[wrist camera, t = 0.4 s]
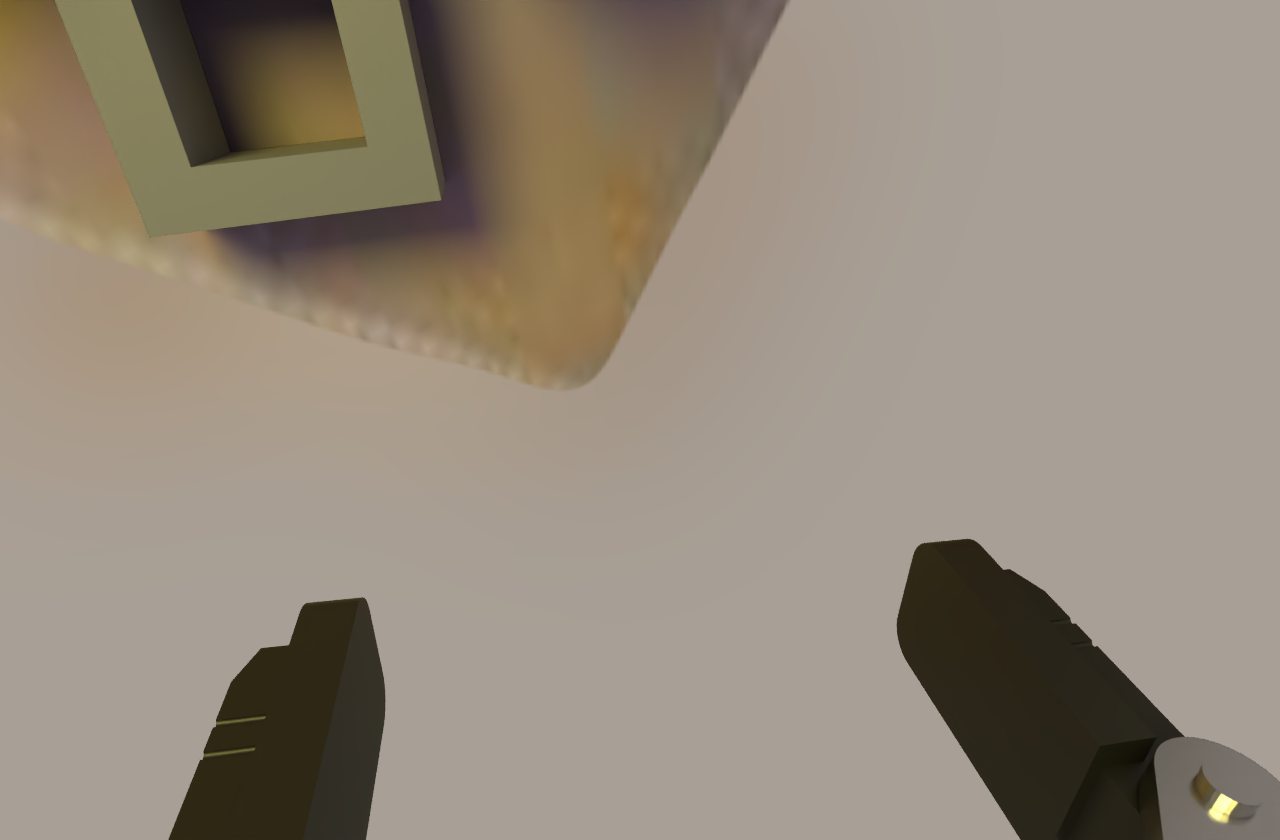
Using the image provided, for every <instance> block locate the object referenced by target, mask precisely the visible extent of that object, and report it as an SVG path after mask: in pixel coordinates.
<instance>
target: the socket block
mask: <svg viewBox="0 0 1280 840" xmlns="http://www.w3.org/2000/svg"><path fill="white" fill-rule="evenodd" d="M331 1H332V5H333V9H334V13H335V17H336V21H337V25H338V29H339V33H340V37H341V41H342V45H343V49H344V53H345V57H346V61H347V65H348V69H349V74H350V78H351V82H352V86H353V90H354V94H355V98H356V102H357V106H358V110H359V114H360V118H361V122H362V126H363V130H364V134H365V137H360V138H351V139H342V140H333V141H325V142H316V143H307V144H299V145H290V146H281V147H272V148H264V149H255V150H246V151H237V152H230V150H229V147H228V144H227V141H226V138H225V135H224V132H223V129H222V126H221V123H220V120H219V117H218V114H217V111H216V108H215V105H214V101H213V98H212V95H211V92H210V89H209V86H208V83H207V80H206V77H205V74H204V71H203V68H202V65H201V62H200V59H199V56H198V53H197V50H196V47H195V44H194V41H193V38H192V35H191V32H190V29H189V26H188V23H187V20H186V17H185V14H184V11H183V8H182V5H181V2H180V0H55V3H56V5H57V8H58V10H59V13H60V15H61V18H62V20H63V23H64V25H65V28H66V30H67V33H68V35H69V38H70V40H71V43H72V45H73V48H74V50H75V53H76V55H77V58H78V60H79V63H80V65H81V68H82V70H83V73H84V75H85V78H86V80H87V83H88V85H89V88H90V90H91V93H92V95H93V98H94V100H95V103H96V105H97V108H98V110H99V113H100V115H101V118H102V120H103V123H104V125H105V128H106V130H107V133H108V135H109V138H110V140H111V143H112V145H113V148H114V150H115V153H116V155H117V158H118V160H119V163H120V165H121V168H122V170H123V173H124V175H125V178H126V180H127V183H128V185H129V188H130V190H131V193H132V195H133V198H134V200H135V203H136V205H137V208H138V210H139V213H140V215H141V218H142V220H143V223H144V225H145V228H146V230H147V233H148V235H149V238H150V237H158V236H166V235H174V234H182V233H190V232H197V231H205V230H213V229H221V228H229V227H236V226H244V225H252V224H260V223H268V222H275V221H283V220H291V219H299V218H307V217H315V216H322V215H330V214H338V213H346V212H354V211H361V210H369V209H377V208H385V207H393V206H400V205H408V204H416V203H424V202H432V201H440V200H441V199H442V195H443V191H444V187H445V177H444V172H443V167H442V162H441V157H440V153H439V148H438V143H437V138H436V133H435V128H434V123H433V119H432V114H431V109H430V104H429V99H428V94H427V89H426V85H425V80H424V75H423V70H422V65H421V60H420V55H419V51H418V46H417V41H416V36H415V31H414V26H413V21H412V17H411V12H410V7H409V2H408V0H331Z"/></svg>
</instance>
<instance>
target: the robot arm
mask: <svg viewBox="0 0 1280 840" xmlns="http://www.w3.org/2000/svg"><path fill="white" fill-rule="evenodd" d="M897 635H898V640H899V644H900V648H901V650H902V653H903V655H904V657H905V659H906V661H907V663H908V664H909V666H910V667H911V669H912V670H913V672H914V674H915V675H916V676H917V678H918V680H919V681H920V683H921V685H922V686H923V688H924V689H925V691H926V692H927V694H928V696H929V697H930V699H931V700H932V702H933V703H934V705H935V706H936V708H937V710H938V711H939V713H940V714H941V716H942V717H943V719H944V721H945V722H946V724H947V725H948V727H949V728H950V730H951V731H952V733H953V735H954V736H955V738H956V739H957V741H958V742H959V744H960V746H961V747H962V749H963V750H964V752H965V753H966V755H967V756H968V758H969V760H970V761H971V763H972V764H973V766H974V767H975V769H976V771H977V772H978V774H979V775H980V777H981V778H982V780H983V781H984V783H985V785H986V786H987V788H988V789H989V791H990V792H991V794H992V795H993V797H994V799H995V800H996V802H997V803H998V805H999V806H1000V808H1001V810H1002V811H1003V812H1004V814H1005V816H1006V817H1007V819H1008V821H1009V822H1010V823H1011V825H1012V827H1013V828H1014V830H1015V831H1016V833H1017V835H1018V836H1019V838H1020V839H1021V840H1280V782H1279V781H1278V780H1277V779H1276V778H1275V777H1274V776H1273V775H1272V774H1270V773H1269V772H1268V771H1267V770H1266V769H1264V768H1263V767H1261V766H1260V765H1259V764H1257V763H1256V762H1254V761H1253V760H1251V759H1249V758H1248V757H1246V756H1244V755H1243V754H1241V753H1239V752H1237V751H1235V750H1233V749H1230V748H1229V747H1226V746H1224V745H1221V744H1218V743H1215V742H1212V741H1209V740H1205V739H1200V738H1194V737H1184V735H1182V734H1181V733H1180V732H1179V731H1178V730H1177V729H1176V728H1175V726H1173V724H1171V723H1170V721H1169V720H1168V719H1167V718H1166V717H1165V716H1164V715H1163V714H1162V713H1161V712H1160V711H1159V710H1158V709H1157V708H1156V707H1155V706H1154V705H1153V704H1152V703H1151V702H1150V700H1149V699H1148V698H1147V697H1146V696H1145V695H1144V694H1143V693H1142V692H1141V691H1140V690H1139V689H1138V688H1137V687H1136V686H1135V685H1134V684H1133V683H1132V682H1131V681H1130V680H1129V679H1128V678H1127V676H1126V675H1125V674H1124V673H1122V671H1121V670H1120V669H1119V668H1118V667H1117V666H1116V665H1115V664H1114V663H1113V662H1112V661H1111V660H1110V659H1109V658H1108V657H1107V656H1106V655H1105V654H1104V653H1103V652H1102V650H1101V649H1100V648H1099V647H1098V646H1096V647H1094V646H1093V645H1092V640H1091V639H1090V638H1089V637H1088V636H1087V635H1086V634H1085V633H1084V632H1083V631H1082V630H1081V629H1080V627H1078V625H1077V624H1072V623H1071V621H1070V617H1069V616H1068V615H1067V614H1066V613H1065V612H1064V611H1063V610H1062V609H1061V608H1060V607H1059V606H1058V605H1057V603H1055V601H1054V600H1053V599H1052V598H1051V597H1050V596H1049V595H1048V594H1047V593H1046V592H1045V591H1043V590H1042V589H1040V588H1039V587H1037V586H1036V585H1034V584H1032V583H1031V582H1029V581H1028V580H1026V579H1025V578H1023V577H1021V576H1020V575H1018V574H1017V573H1015V572H1014V571H1012V570H1010V569H1007V570H1003V569H1002V568H1001V567H1000V566H999V565H998V564H997V563H996V562H995V560H994V559H993V558H992V557H991V556H990V555H989V554H988V553H987V552H986V551H985V550H984V548H982V546H981V545H980V544H978V543H977V542H976V541H974V540H971V539H962V540H952V541H941V542H932V543H924V544H921V545H919V546H918V547H917V548H916V550H915V552H914V555H913V559H912V563H911V566H910V570H909V574H908V579H907V582H906V586H905V590H904V594H903V598H902V602H901V606H900V610H899V614H898V618H897ZM384 719H385V685H384V677H383V672H382V667H381V662H380V658H379V653H378V648H377V644H376V639H375V634H374V629H373V625H372V620H371V615H370V610H369V607H368V603H367V601H366V599H365V598H353V599H343V600H333V601H324V602H313V603H306V604H305V605H304V606H303V607H302V609H301V611H300V614H299V617H298V620H297V623H296V626H295V629H294V632H293V635H292V638H291V641H290V644H289V645H288V646H278V647H269V648H261V649H260V650H259V651H258V653H257V654H256V655H255V656H254V657H253V658H252V659H251V660H250V661H249V663H248V664H247V665H246V666H245V667H244V668H243V669H242V671H241V672H240V673H239V674H238V675H237V676H236V677H235V679H233V681H232V682H231V684H230V686H229V689H228V691H227V694H226V696H225V699H224V701H223V704H222V706H221V709H220V711H219V714H218V716H217V719H216V727H214V728H213V729H212V731H211V734H210V736H209V739H208V741H207V744H206V747H205V749H204V757H203V760H200V762H199V764H198V767H197V769H196V772H195V774H194V777H193V779H192V782H191V784H190V787H189V789H188V792H187V794H186V797H185V800H184V802H183V804H182V807H181V809H180V812H179V814H178V817H177V820H176V822H175V824H174V827H173V829H172V832H171V835H170V837H169V840H366V835H367V829H368V822H369V816H370V809H371V803H372V797H373V790H374V784H375V778H376V772H377V765H378V759H379V752H380V745H381V740H382V734H383V727H384Z"/></svg>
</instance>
